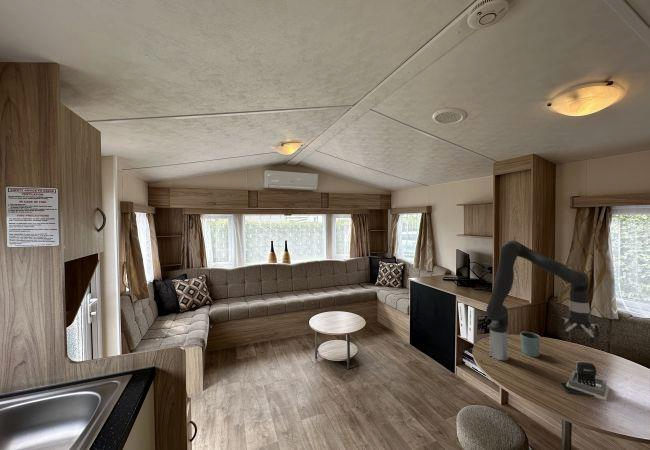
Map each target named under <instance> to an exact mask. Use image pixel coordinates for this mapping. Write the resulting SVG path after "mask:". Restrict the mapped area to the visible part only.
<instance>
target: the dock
mask: <svg viewBox="0 0 650 450" xmlns="http://www.w3.org/2000/svg"><path fill="white" fill-rule="evenodd" d="M566 383H567V385H566V386H567V387H570V388H573V389H576V390H579V391H582V392H585V393H588V394H591V395H594V397H593V398H597V399H599V400H602V401H605V402H606V401H607V400H608V395H609V390H610V385H609V384H607V380H606V379H602V378H599V377H596V376H595V383H596V386H595V387H592V386H588V385H585V384H582V383H579V382H577V371H576V370H572V372H571V374H570V376H569V379H568V381H567V382H566Z"/></svg>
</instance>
